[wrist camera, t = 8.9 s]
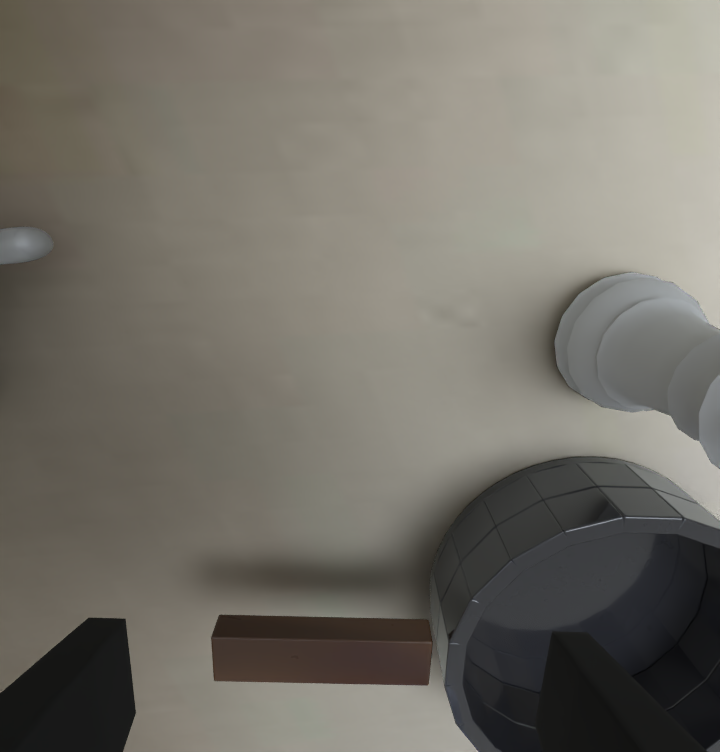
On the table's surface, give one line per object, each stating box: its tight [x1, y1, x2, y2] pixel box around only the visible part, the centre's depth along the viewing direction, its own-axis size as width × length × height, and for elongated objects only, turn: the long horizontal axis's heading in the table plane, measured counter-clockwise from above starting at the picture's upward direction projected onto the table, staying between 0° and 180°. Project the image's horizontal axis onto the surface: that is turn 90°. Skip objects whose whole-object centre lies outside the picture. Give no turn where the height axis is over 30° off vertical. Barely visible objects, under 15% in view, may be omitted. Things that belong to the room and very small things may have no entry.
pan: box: [430, 457, 720, 752], centre depth 18 cm, size 11×11×4 cm
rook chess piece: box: [554, 272, 720, 469], centre depth 14 cm, size 4×4×8 cm
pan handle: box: [211, 615, 433, 685], centre depth 17 cm, size 2×7×1 cm, turn 88°
